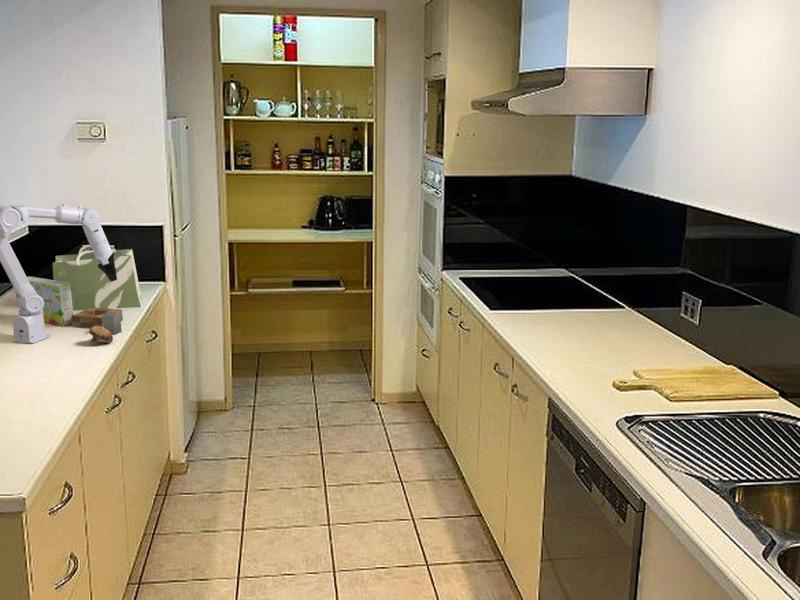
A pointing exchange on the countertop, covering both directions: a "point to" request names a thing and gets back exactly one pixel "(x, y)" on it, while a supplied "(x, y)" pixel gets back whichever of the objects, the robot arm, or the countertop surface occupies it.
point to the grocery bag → (99, 280)
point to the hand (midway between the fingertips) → (113, 277)
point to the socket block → (92, 317)
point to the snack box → (54, 300)
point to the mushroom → (100, 335)
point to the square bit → (112, 322)
